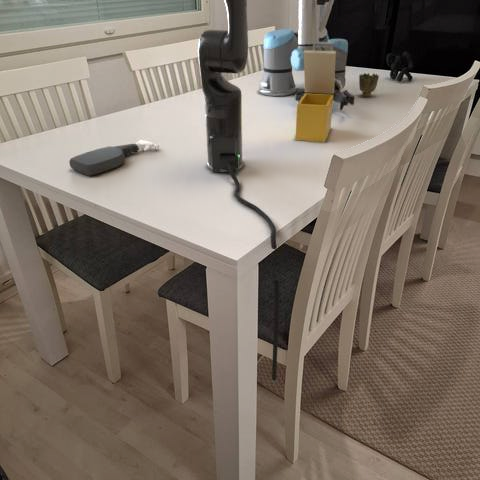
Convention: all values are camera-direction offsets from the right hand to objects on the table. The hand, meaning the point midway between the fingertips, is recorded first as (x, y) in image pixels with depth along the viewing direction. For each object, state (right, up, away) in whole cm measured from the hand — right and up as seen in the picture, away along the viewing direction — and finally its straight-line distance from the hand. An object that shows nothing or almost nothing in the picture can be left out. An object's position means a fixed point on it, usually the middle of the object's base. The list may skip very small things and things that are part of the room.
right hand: (320, 104), depth 147 cm
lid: (-3, +5, -13) cm, 15 cm away
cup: (+24, +13, +31) cm, 41 cm away
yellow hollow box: (-3, -11, -6) cm, 13 cm away
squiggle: (+45, +27, +53) cm, 75 cm away
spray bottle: (-61, -22, -22) cm, 69 cm away
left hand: (-4, +20, -26) cm, 33 cm away
